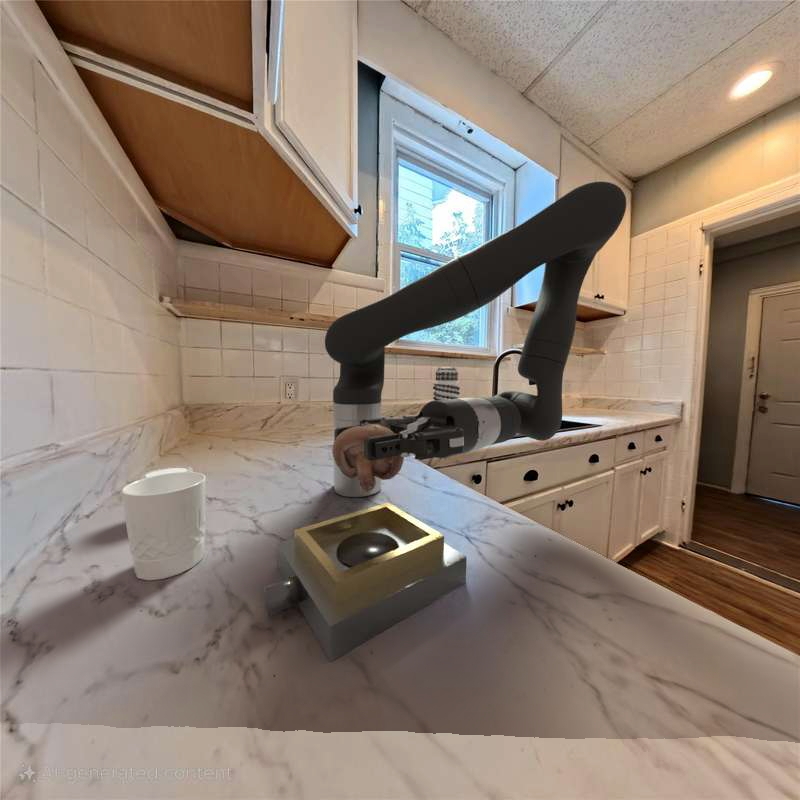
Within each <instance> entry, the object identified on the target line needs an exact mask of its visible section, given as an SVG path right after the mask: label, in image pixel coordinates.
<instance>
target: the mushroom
mask: <svg viewBox="0 0 800 800" xmlns="http://www.w3.org/2000/svg"><path fill="white" fill-rule="evenodd" d="M393 433H394V432H393V431H391V430H390V429H389V428H386V427H383V426H381V425H379V424H375V425H374V424H367V425H361V426H355V427H351V428H349V429H347V430H345V431H343V432H342V433H341V434H339V435H338V437H337V438H336V439H335V441H334V440H333V441H334V444H333V445H332V448H331V449H332V450H331V454H332V458H333V461H334V460H335V463H336V464H337V466H338V467H339V469H340V471H341V472H342V473H343V474H344V475H345V476H347V477H349V478H354V477H358V480H359V481H360V483H359V484H360V486H361V491H362V493H363V494H366V495H368V496H370V495H369V494H370V492H371V490H372V489H374V487H375V485H376V481H375V477H374V476H376V477H378V478H380V479H381V481H382V480H383V481H384V480H386V481H387V480H391V479H393V478H394V477H396V475H398V474H399V472H400V471H401V469H402V467H403V464H404V460H405V457H401V456H400V454H399V455H398V456H393V457H388V458H384V459H379V460H374V461H370V460H367V459H366V458H365V457H364V441H365V439H366V438H368V437H374V436H380V435H387V434H393Z"/></svg>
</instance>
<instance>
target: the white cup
mask: <svg viewBox="0 0 800 800" xmlns="http://www.w3.org/2000/svg"><path fill="white" fill-rule="evenodd" d="M206 480H207V478H206V475H205V474H204V473H202V472H196V471H193V472H177V473H168V474H162V475H157V476H152V477H148V478H144V479H141V480H140V479H138V480H136V481H133V482H131V483H129V484H127V485H125V486H124V487H123V488H122V489H121V496H122V503H123V511H124V520H125V526H126V532H127V538H128V545H129V550H130V554H131V556H132V563H133V564H132V565H133V572H134V575H135V576H136V577H137V579H139V580H143V581H156V580H163V579H167V578H170V577H174V576H177V575H180V574H182V573H184V572H186V571H188V570H190V569H191V568H193V567H195V565H197V564H198V563H199V562H201V560H202V559H203V557H204V553H205V535H206V534H205V533H206V512H207V511H206V510H207V509H206V505H207V504H206V500H207V499H206V498H207V495H206V492H207V489H206V485H207V483H206Z"/></svg>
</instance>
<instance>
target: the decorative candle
mask: <svg viewBox="0 0 800 800" xmlns="http://www.w3.org/2000/svg"><path fill="white" fill-rule="evenodd" d="M458 375H459V371H458V370H457V368H456V367H455V366H440V367H438V368H437V369H436V371H435V380H434V383H433V386H432V389H433V390H434V392H433V393H432V394H433V397H432V400H433V401H434V400H446V399H457V398H459V395H460V394H461V393H460V391H459V390H461V388H460V386H459V376H458Z"/></svg>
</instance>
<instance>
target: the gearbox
mask: <svg viewBox="0 0 800 800" xmlns="http://www.w3.org/2000/svg"><path fill="white" fill-rule="evenodd" d="M275 544H276V545H275V546H276V569H277V570H278V572H279V574H280V575H281V577H282V580H280V581H277V582H274V583H272V584H269V585H267V586H264V587H263V588H262V601H263V602H262V603H263V607H264V610H265V614H266V616H267V617H269V616H272V615H275V614H276V613H280V612H281V611H283V610H287V609H288V608H290V607H292V606H295V605H298V607H299V609H300V611H301V612H302V614H303V616H304V618H305V619H306V621H307V624H308V625H309V626H310V628H311V631H312V632H313V634H314V636H315V638H316V639H317V641H318V643H319V644H320V646H321V648H322V649H323V652H324V653H325V655H326V657H327V659H328V661H329V662H330V663H331V662H333V661H335V660H336V659H338V658H340V657H341V656H343V655H345V654H347V653H349V652H350V651H352V650H353V649H355V648H357V647H358V646H360V645H362V644H364V643H365V642H368V641H369V640H371V639H372V638H375V637H376V636H377V635H379V634H381V633H382V632H383V631H386V630H388V629H390V628H391V627H392V626H394V625H396V624H397V623H400V622H401V621H403V620H405V619H406V618H408V617H410V616H411V615H413V614H415V613H417V612H418V611H420V610H421V609H423V608H425V607H428V606H429V605H431V603H434V602H436V601H438V600H439V599H440V598H442V597H444V596H446V595H447V594H449V593H451V592H453V591H454V590H456V589H457V588H459V587H461V586H462V585H465V584H466V583H467V561H468V560H467V558H468V557H467V556H466V555H465V554H463V553H461V552H460V551H458V550H456V549H455V548H453V547H452V546H450V545H449V544H447V543H446V542H445V535H443V534H442V533H440V532H439V531H438V530H435V529H433V528H432V527H430V526H428V525H427V524H425V523H424V522H423V521H420V520H419V519H416V518H415V517H413V516H411V515H410V514H408V513H406V512H405V511H403V510H402V509H400V508H398V507H396V506H395V505H393V504H392V503H390V502H384V503H382V504H378V505H375V506H372V507H368V508H365V509H361V510H358V511H354V512H351V513H346V514H345V515H341V516H338V515H330V517H328V518H327V519H326V520H325V521H324V520H323V521H321V522H318V523H314V524H310V525H307V526H303V527H300V528H297V529H294V536H293V537H292V538H289V539H286V540H282V541H280V542H276V543H275Z"/></svg>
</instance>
